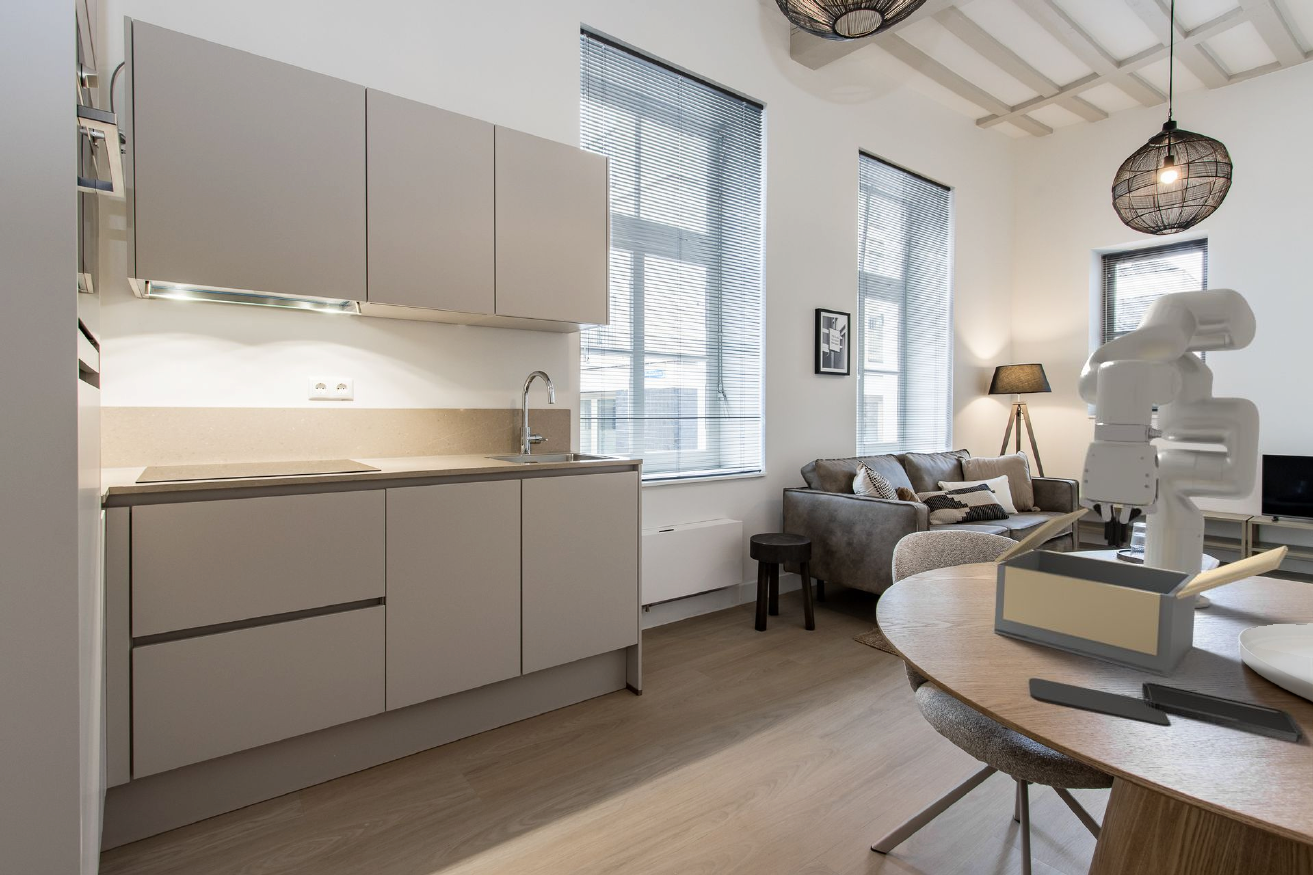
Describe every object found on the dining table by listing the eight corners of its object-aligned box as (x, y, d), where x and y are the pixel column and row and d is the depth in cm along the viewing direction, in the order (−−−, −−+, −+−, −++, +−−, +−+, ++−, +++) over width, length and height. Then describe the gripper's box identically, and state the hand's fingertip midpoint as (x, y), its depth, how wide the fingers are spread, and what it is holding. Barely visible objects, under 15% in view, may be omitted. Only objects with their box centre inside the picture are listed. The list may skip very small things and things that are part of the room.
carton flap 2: (1285, 545, 99) (1288, 549, 99) (1198, 574, 106) (1200, 577, 106) (1274, 564, 86) (1277, 568, 85) (1175, 595, 93) (1178, 599, 93)
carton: (1034, 609, 125) (1037, 548, 125) (1193, 645, 108) (1197, 574, 107) (992, 633, 111) (996, 564, 111) (1167, 678, 93) (1172, 597, 93)
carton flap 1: (1035, 548, 124) (1032, 545, 125) (1088, 510, 118) (1086, 508, 118) (996, 562, 111) (994, 560, 112) (1054, 521, 105) (1051, 518, 105)
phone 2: (1142, 680, 90) (1289, 711, 82) (1141, 688, 90) (1289, 720, 82) (1144, 701, 84) (1304, 736, 75) (1144, 709, 84) (1304, 746, 75)
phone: (1172, 725, 79) (1030, 695, 86) (1171, 732, 79) (1030, 701, 86) (1159, 702, 85) (1028, 676, 92) (1158, 708, 85) (1028, 681, 92)
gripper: (1183, 437, 103) (1177, 550, 104) (1076, 433, 114) (1070, 535, 115) (1175, 438, 98) (1167, 557, 99) (1063, 433, 109) (1057, 540, 110)
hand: (1115, 545), depth 107 cm, fingers closed
